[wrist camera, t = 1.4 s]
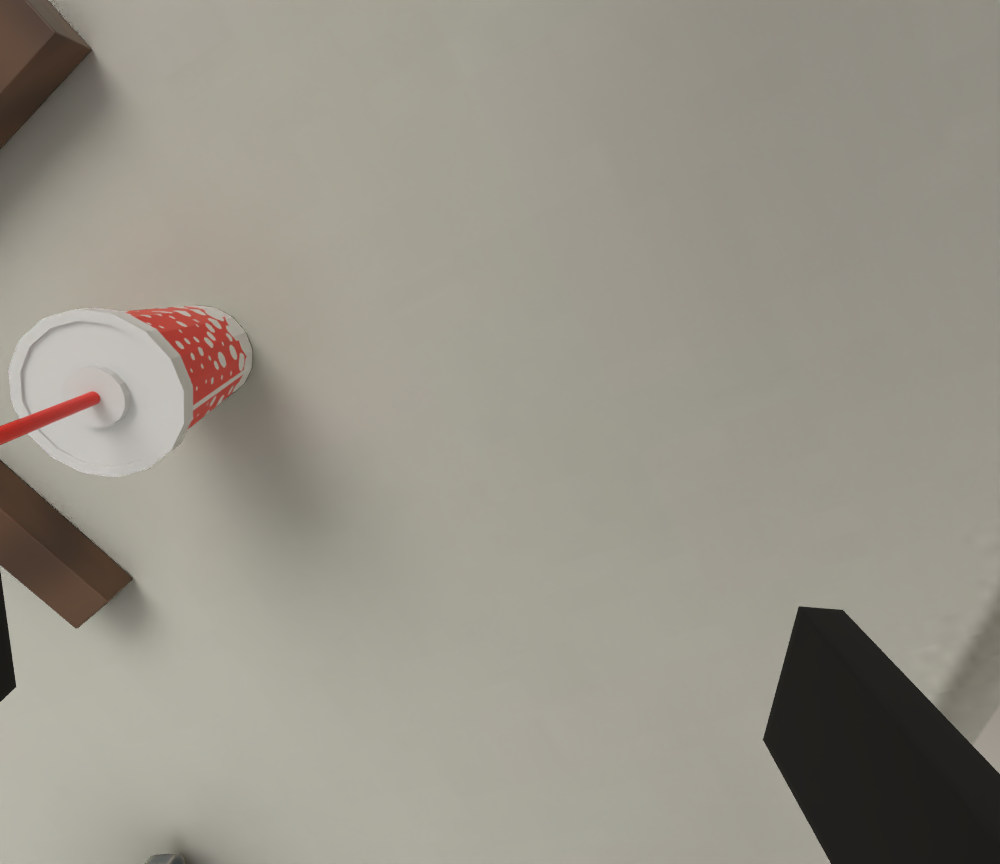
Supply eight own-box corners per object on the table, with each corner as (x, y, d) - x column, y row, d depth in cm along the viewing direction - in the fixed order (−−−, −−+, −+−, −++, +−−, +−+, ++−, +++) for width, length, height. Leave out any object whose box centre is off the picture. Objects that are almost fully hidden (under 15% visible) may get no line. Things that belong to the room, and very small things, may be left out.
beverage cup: (154, 270, 30) (-117, 296, 17) (281, 313, 31) (121, 372, 17) (130, 390, 32) (-133, 502, 18) (253, 429, 32) (85, 564, 19)
